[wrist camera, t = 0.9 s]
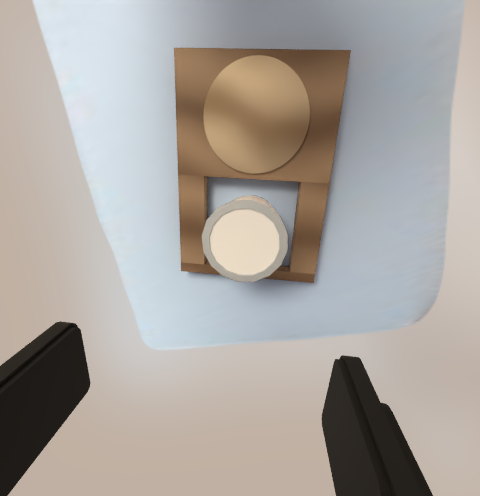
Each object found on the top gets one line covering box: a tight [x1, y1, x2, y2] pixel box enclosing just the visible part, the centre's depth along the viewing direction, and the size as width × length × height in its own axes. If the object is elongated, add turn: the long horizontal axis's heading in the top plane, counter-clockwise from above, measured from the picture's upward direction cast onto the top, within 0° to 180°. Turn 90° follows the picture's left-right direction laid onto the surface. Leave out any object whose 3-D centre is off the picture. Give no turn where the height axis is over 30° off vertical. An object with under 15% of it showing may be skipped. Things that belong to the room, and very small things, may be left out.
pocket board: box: [174, 48, 351, 283], centre depth 24 cm, size 20×14×2 cm
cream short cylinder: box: [202, 195, 288, 282], centre depth 23 cm, size 7×7×7 cm
